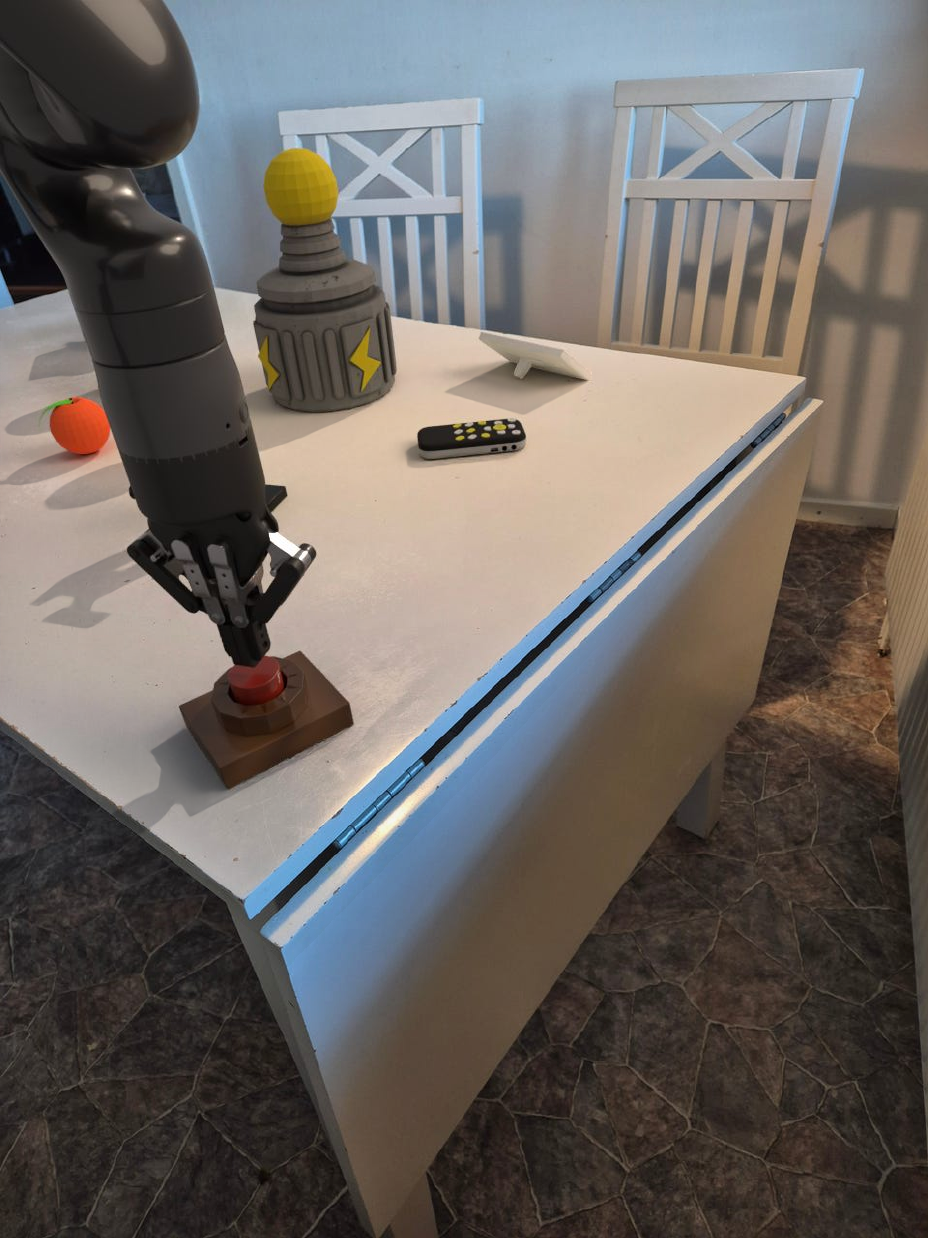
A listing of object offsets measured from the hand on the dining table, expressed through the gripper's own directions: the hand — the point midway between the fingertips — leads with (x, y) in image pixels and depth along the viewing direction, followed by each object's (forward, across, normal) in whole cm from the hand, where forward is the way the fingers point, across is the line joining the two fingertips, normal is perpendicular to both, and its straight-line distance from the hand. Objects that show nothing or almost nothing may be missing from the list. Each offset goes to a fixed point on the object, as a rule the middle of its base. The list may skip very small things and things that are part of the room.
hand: (251, 659), depth 56 cm
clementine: (+7, -48, +40) cm, 63 cm away
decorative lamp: (+7, -24, +64) cm, 69 cm away
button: (+3, 0, 0) cm, 3 cm away
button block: (+6, 0, 0) cm, 6 cm away
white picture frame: (+7, +3, +72) cm, 73 cm away
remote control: (+7, +1, +49) cm, 50 cm away
